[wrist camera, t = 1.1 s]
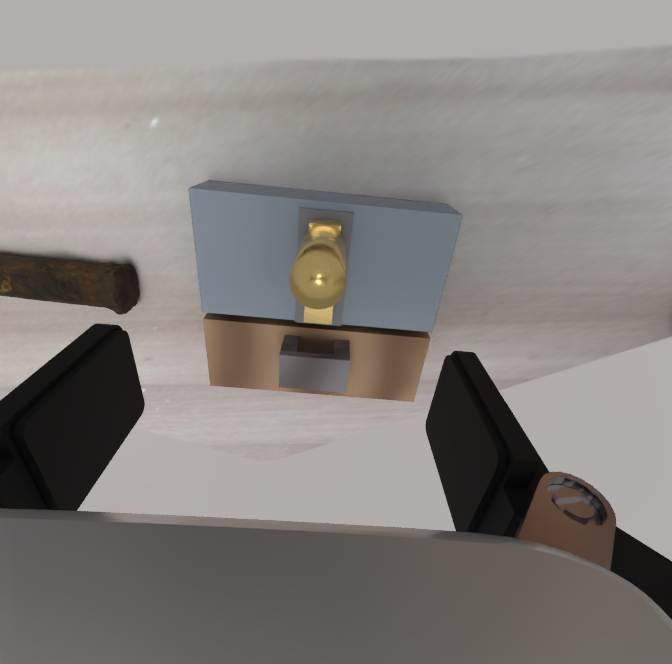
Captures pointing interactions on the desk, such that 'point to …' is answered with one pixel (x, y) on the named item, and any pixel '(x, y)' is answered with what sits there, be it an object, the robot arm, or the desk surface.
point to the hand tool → (70, 282)
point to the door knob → (320, 271)
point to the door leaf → (285, 240)
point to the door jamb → (314, 357)
